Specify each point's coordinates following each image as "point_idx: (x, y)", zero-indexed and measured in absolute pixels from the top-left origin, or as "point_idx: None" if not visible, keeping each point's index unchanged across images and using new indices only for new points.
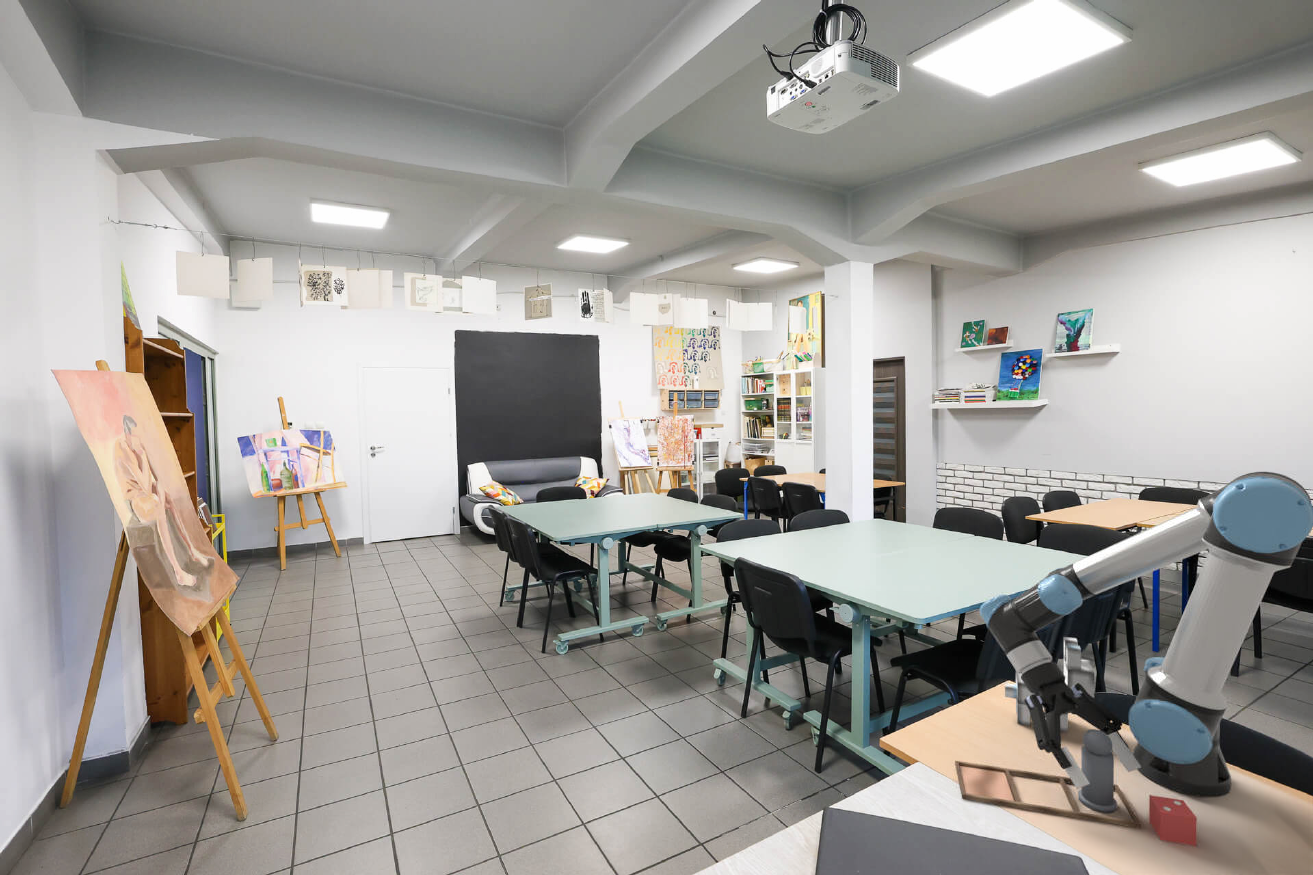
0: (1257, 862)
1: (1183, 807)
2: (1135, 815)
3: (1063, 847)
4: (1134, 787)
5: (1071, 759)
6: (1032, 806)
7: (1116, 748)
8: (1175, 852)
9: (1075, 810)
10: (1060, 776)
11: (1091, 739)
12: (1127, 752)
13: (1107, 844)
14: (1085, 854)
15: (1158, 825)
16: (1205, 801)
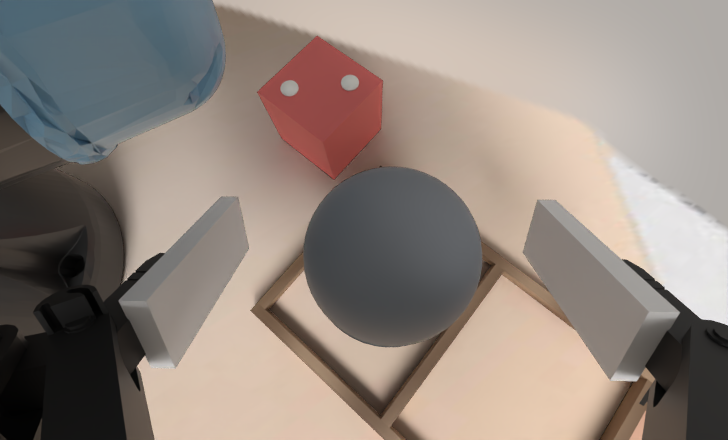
0: (271, 27)
1: (297, 72)
2: None
3: (642, 196)
4: None
5: (616, 261)
6: None
7: (205, 289)
8: (393, 95)
9: (499, 273)
10: (378, 432)
11: (478, 234)
12: (209, 232)
13: (520, 164)
14: (606, 160)
15: (370, 124)
16: (111, 177)
